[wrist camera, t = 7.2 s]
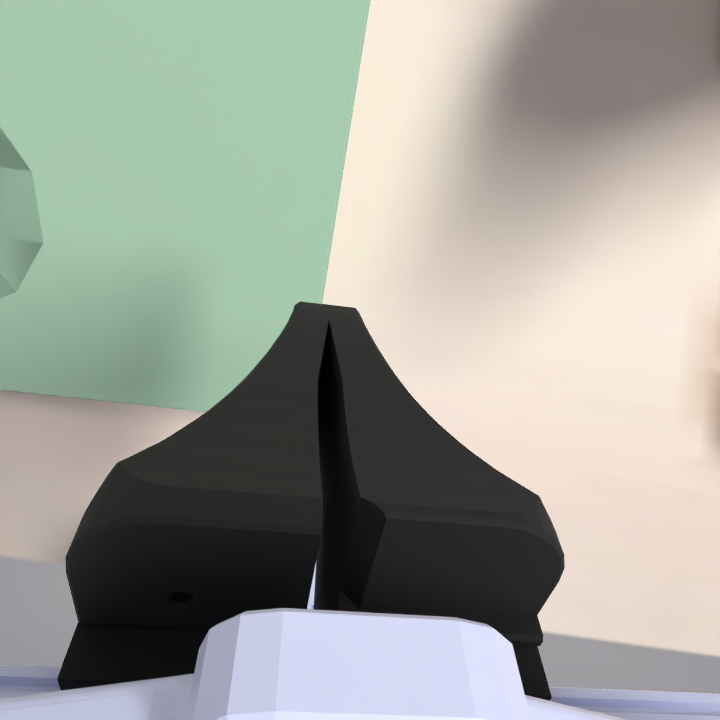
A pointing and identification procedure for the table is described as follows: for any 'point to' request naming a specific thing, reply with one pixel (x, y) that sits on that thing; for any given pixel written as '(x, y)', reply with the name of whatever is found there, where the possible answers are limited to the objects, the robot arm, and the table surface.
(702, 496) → the table surface
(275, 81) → the deck
